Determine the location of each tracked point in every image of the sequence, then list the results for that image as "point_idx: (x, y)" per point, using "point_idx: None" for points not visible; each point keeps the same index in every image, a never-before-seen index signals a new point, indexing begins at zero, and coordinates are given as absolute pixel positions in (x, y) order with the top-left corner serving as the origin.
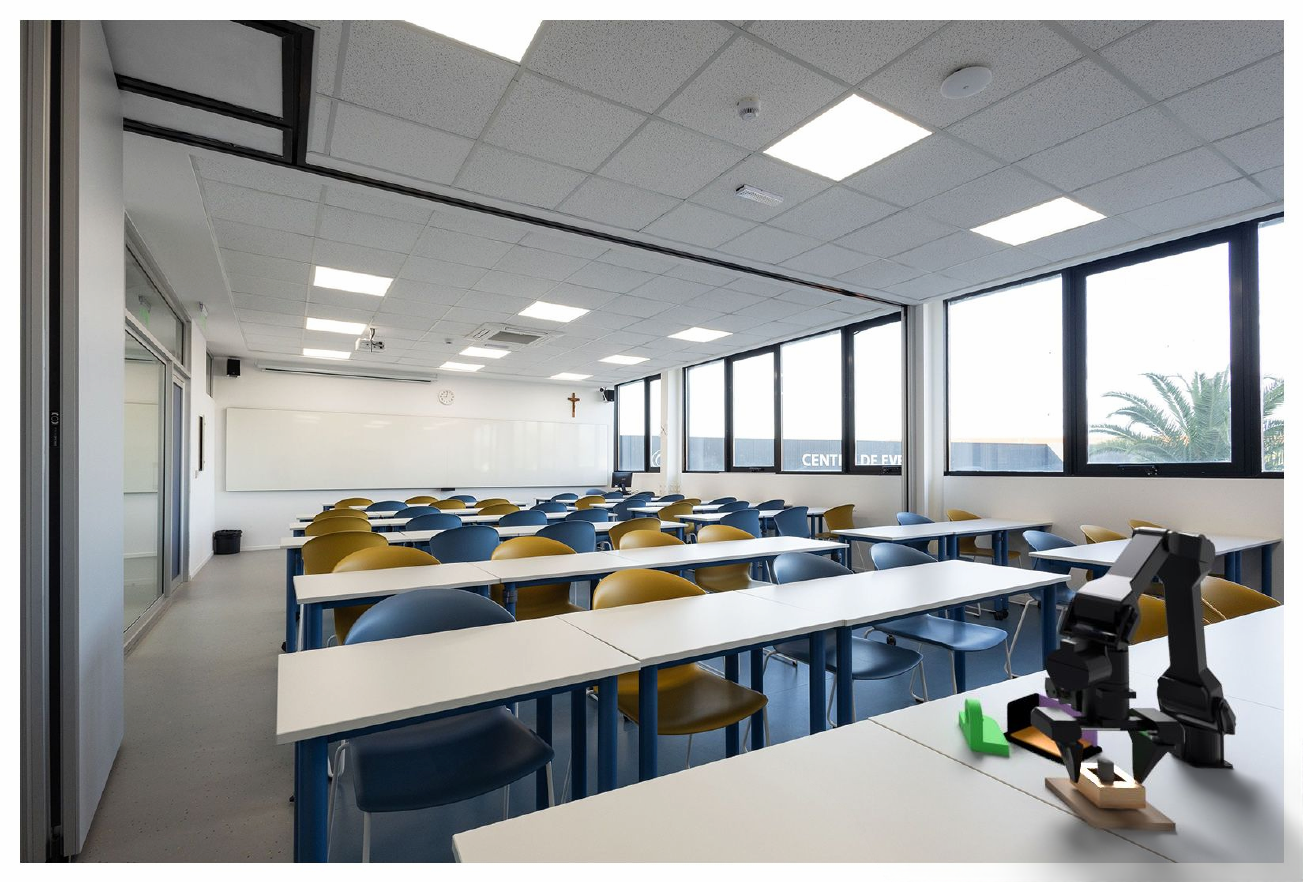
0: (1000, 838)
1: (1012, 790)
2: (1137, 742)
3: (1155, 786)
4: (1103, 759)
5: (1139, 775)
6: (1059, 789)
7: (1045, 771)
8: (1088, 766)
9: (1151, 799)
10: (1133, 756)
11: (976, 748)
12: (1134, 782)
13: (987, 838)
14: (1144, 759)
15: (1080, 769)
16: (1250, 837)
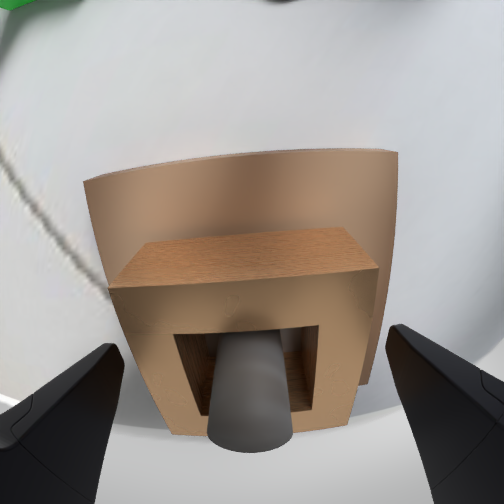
0: (18, 371)
1: (21, 217)
2: (489, 464)
3: (488, 145)
4: (254, 420)
5: (397, 376)
6: (107, 262)
7: (158, 50)
8: (200, 317)
9: (437, 215)
10: (447, 393)
11: (14, 5)
12: (337, 407)
13: (6, 368)
14: (432, 448)
15: (108, 435)
16: (481, 336)
